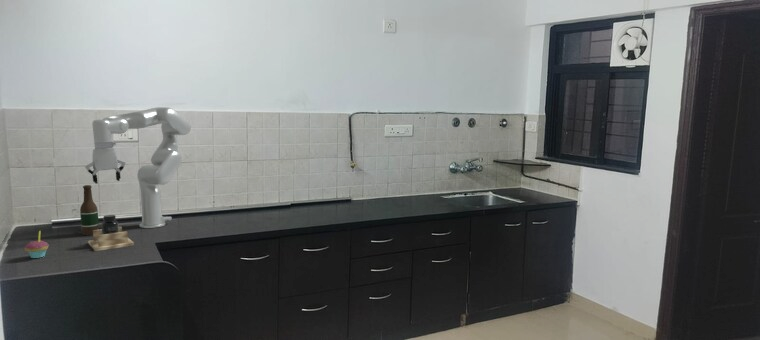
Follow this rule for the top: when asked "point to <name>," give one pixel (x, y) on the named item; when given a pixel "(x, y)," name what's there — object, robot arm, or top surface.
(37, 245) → the cupcake
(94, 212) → the beer bottle
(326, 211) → the top surface
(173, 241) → the top surface
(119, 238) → the holder
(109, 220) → the supplement bottle
